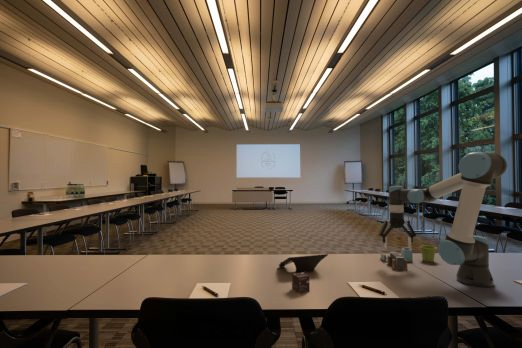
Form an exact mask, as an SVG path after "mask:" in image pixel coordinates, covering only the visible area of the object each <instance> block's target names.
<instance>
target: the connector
mask: <svg viewBox="0 0 522 348" xmlns="http://www.w3.org/2000/svg"><path fill="white" fill-rule="evenodd" d="M400 255H401V256H402V257H404V259H406V260H407V263H408V262H410V263H411V262H413V261H414V260H413V249H412V248H411V249H409V248H408V246H406V247H405V246H404V247H403V248H401V249H400Z"/></svg>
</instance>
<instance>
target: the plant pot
mask: <svg viewBox="0 0 522 348" xmlns="http://www.w3.org/2000/svg"><path fill="white" fill-rule="evenodd" d="M419 249H420V252H421V258H422V260H423V262H425V263H429V262H431V263H434V261H435V256H436V255H435V254H436V251H437V250H438V247H436V246H433V245H426V244H424V245H423V244H422V245H420V246H419Z"/></svg>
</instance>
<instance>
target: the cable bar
mask: <svg viewBox="0 0 522 348" xmlns="http://www.w3.org/2000/svg"><path fill="white" fill-rule="evenodd" d="M389 256H390V257H391V264H392V259H394V260H395V266H396V268H404V257H402V256H401V254H400V253H398V252H393V251H391V252H389Z"/></svg>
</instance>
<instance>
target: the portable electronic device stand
mask: <svg viewBox="0 0 522 348" xmlns="http://www.w3.org/2000/svg"><path fill="white" fill-rule="evenodd" d="M328 256H329V254H328V253H326V254H314V255H300V256H292V257H291V256H290V257H288V258H286V259H285V260H283V261H280V262H279V264H278V267H279V268H284V267H285V266H286V267H287V265H289V264H291V263H293V264H294V266H295V273H312V272H314V270H315V269H316V267H317V266H318V264H319V263H321V261H322V260H323V259H325V258H326V257H328Z"/></svg>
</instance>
